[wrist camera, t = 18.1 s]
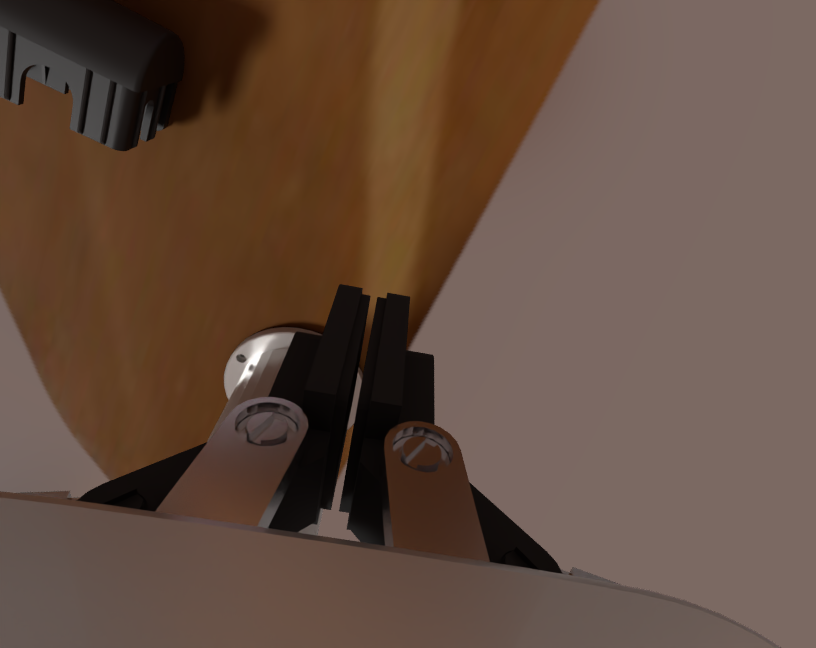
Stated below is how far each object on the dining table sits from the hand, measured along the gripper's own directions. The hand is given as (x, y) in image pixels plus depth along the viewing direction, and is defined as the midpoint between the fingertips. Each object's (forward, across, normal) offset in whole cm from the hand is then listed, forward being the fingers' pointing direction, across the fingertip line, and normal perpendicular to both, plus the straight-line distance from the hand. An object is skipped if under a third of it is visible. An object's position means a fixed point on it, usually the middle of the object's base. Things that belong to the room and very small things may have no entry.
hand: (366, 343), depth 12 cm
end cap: (+27, +20, -1) cm, 34 cm away
